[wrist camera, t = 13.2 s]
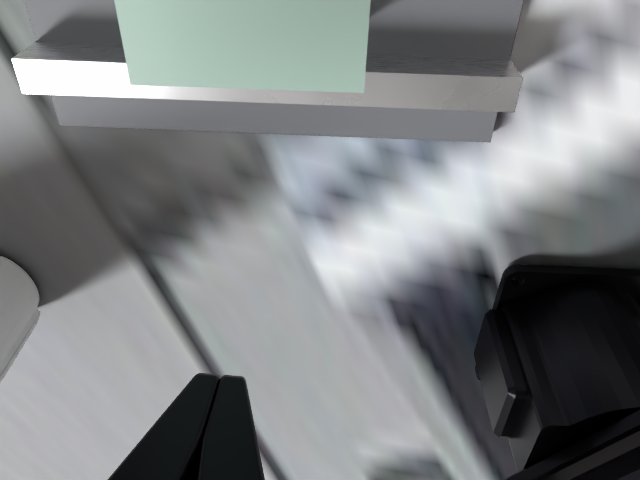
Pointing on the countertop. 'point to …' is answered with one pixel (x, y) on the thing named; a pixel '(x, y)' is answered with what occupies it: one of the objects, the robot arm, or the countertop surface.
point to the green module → (246, 43)
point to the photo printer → (15, 311)
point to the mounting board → (285, 105)
